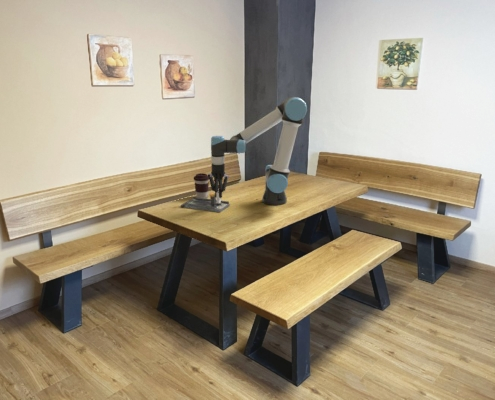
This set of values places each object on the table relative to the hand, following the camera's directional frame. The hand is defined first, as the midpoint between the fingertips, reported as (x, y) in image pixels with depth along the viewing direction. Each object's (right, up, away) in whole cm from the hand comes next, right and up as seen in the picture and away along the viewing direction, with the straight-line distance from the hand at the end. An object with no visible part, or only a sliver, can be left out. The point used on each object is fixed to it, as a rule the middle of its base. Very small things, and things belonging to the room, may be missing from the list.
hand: (218, 202), depth 245 cm
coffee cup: (-12, +3, +23) cm, 26 cm away
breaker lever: (-3, -2, +2) cm, 4 cm away
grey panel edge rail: (-19, -1, +9) cm, 21 cm away
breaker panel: (-8, -2, +4) cm, 10 cm away
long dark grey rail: (-6, 0, +13) cm, 14 cm away
